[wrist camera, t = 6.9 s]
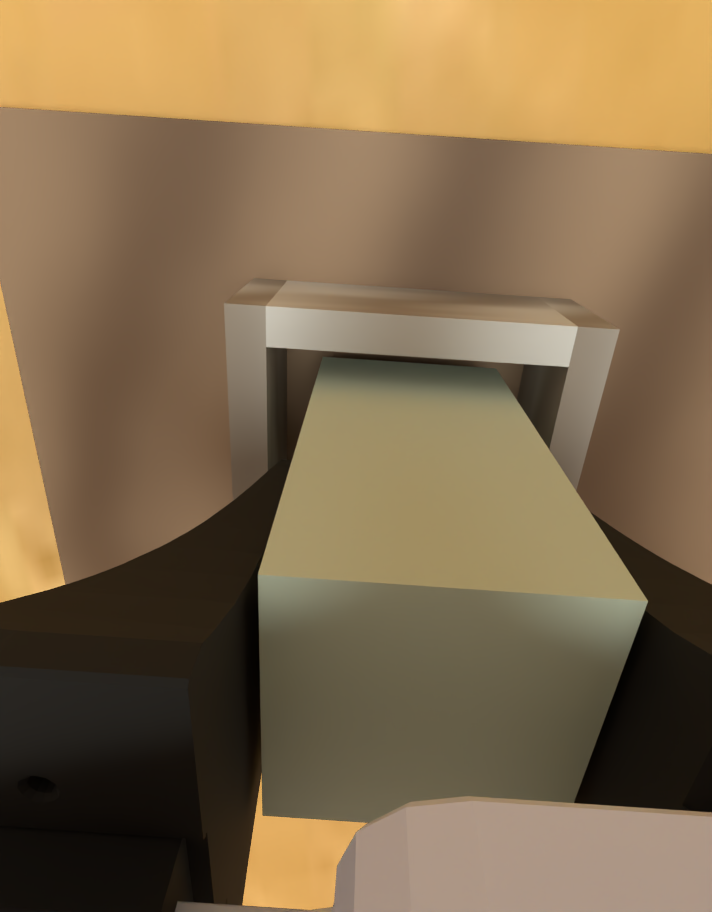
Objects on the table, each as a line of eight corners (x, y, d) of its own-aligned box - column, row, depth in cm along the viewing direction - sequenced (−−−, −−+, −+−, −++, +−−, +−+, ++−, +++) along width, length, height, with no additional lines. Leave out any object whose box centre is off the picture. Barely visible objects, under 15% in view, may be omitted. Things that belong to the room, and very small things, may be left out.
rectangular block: (496, 368, 13) (647, 600, 6) (470, 516, 15) (562, 835, 7) (323, 357, 13) (258, 574, 6) (317, 505, 15) (263, 815, 8)
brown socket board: (857, 166, 13) (1043, 162, 9) (670, 628, 19) (738, 731, 16) (-10, 109, 13) (-157, 83, 9) (85, 589, 19) (18, 683, 16)
